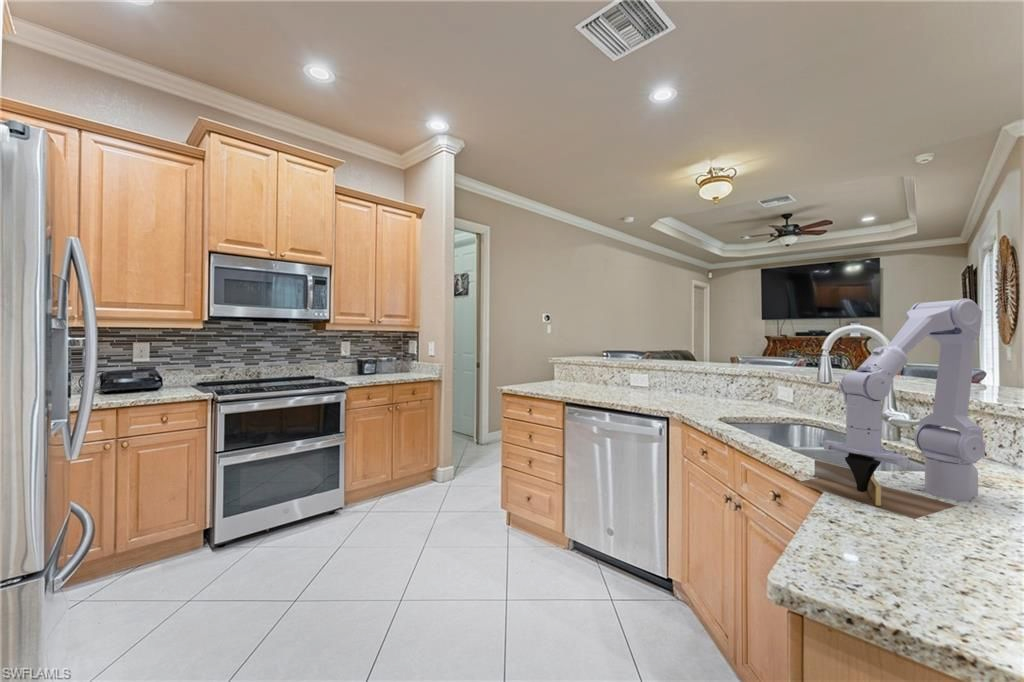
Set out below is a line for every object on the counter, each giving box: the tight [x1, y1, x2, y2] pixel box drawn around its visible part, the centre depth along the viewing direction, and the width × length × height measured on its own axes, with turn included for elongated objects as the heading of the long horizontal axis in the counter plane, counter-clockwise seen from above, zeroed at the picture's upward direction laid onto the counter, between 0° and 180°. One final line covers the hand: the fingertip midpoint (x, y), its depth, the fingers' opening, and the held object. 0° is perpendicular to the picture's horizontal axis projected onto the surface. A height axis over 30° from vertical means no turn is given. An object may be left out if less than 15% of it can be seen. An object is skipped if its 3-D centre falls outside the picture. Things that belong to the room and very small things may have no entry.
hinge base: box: [794, 459, 958, 520], centre depth 92 cm, size 17×23×5 cm
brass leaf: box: [867, 472, 881, 506], centre depth 89 cm, size 12×2×4 cm, turn 146°
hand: (862, 490), depth 88 cm, fingers closed
